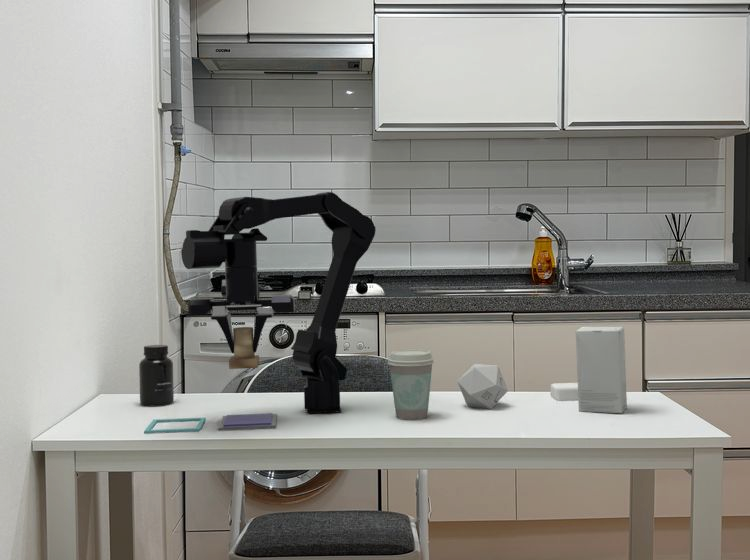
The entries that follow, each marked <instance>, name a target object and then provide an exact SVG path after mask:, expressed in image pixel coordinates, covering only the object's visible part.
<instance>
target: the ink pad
mask: <svg viewBox="0 0 750 560" xmlns="http://www.w3.org/2000/svg"><path fill="white" fill-rule="evenodd" d="M277 417H278V413H271V412H269V413H249V414H248V413H247V414H227V415H222V417H221V420H220V422H219V425H218V427H217V428H218V431H239V430H244V431H245V430H263V429H264V430H265V429H267V430H269V429H276V427H277V419H278V418H277Z"/></svg>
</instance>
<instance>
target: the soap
mask: <svg viewBox="0 0 750 560" xmlns="http://www.w3.org/2000/svg"><path fill="white" fill-rule="evenodd" d="M550 397H551V398H552V399H554V400H556V401H558V402H562V401H563V402H565V401H566V402H567V401H571V402H572V401H578V382H560V383H559V382H558V383H556V382H555V383H551V384H550Z"/></svg>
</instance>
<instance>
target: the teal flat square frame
mask: <svg viewBox="0 0 750 560" xmlns="http://www.w3.org/2000/svg"><path fill="white" fill-rule="evenodd" d="M206 419H207V418H206V417H187V418H186V417H184V418H181V417H180V418H162V419H161V418H159V419H158V418H157V419H152V421H151V422H150V423H149V425H148V426H147V427H146V428H145V429H144V431H143V433H144V434H156V433H155V432H166V433H183V432H184V433H185V432H186V433H187V432H189V433H190V432H201V430H202V429H203V426H204V424H205V422H206ZM171 421H180V422H198V423H197V425H196V427H189V428H187V427H185V428H165V429H153V428H154V427H155V426H156V425H155V424H158V423H172V422H171ZM154 425H155V426H154ZM151 429H152V430H151ZM153 432H154V433H153Z"/></svg>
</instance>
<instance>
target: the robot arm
mask: <svg viewBox="0 0 750 560" xmlns="http://www.w3.org/2000/svg"><path fill="white" fill-rule="evenodd" d="M314 214H316V215H317V214H318V216H320V218H321V220H322V221H323V223H324V225H325V226H326V227H327V228H328V229H329V230H330V231H331V232H332V236H331V248H332V254H333V255H332V259H331V262H330V264H329V269H328V271H327V273H326V277H325V279H324V280H325V281H324V284H323V287H322V290H321V293H320V297H319V299H318V303H317V306H316V309H315V311H314V316H313V319H312V321H311V324H310V325H309V326H308V327H307V328H306V329H305V330H304V329H298V330H297V333H296V336H295V341H294V343H293V345H292V346H291V347H290V349H291V350H292V360H293V362H294V364H295V366H296V368H298V370H299V372H300V375H301V378H306V385H304V386H303V395H304V396H303V401H304V405H303V406H304V409H305V410H306V413H307V414H323V413H341V412H342V407H341V386H340V384H341V383H340V382H341V381H345V379H346V375H347V372H348V368H346V366H345V365H343V363H342V362H340V360H339V359H337V352H338V341H337V340H338V339H337V334H336V330H337V326H338V323H339V320H340V318H341V315H342V311H343V309H344V304H345V301H346V299H347V295H348V292H349V288H350V285H351V282H352V280H353V276H354V272H355V269H356V267H357V263H358V262H359V261H360V259H361V258H362V257H363V256H364V254H366V253H367V251H368V250H369V248H370V246H371V245H372V243H373V240H374V238H375V236H376V232H377V231H376V230H377V229H376V228H377V227H376V226H375V224H374V221H373V220H372V219H371V217H369V216H368V215H364V214H363V213H362V212H360V210H359V209H357V208H355V207H353V206H352V205H351V204H349V203H347V201H344V200H343V199H342V198H341V197H339V195H337V194H336V193H334V192H332V191H326V192H318V193H315V194H312V195H311V194H310V195H303V196H302V195H301V196H295V197H286V198H285V197H284V198H276V199H272V198H271V199H270V198H264V197H263V198H262V197H255V196H253V197H252V196H240V197H233V198H227V199H225V200H223V201H222V203H221V205H220V206H219V209H218V215H217V216H216V218H215V220H214V222H213V223H212V225H210V228H209V229H208V230H197V229H191V230H190V229H188V230H186V231H185V236H186V237H185V238H184V240H183V243H182V248H181V250H180V253H181V261H182V264H183V265H184V267H185V269H187V270H197V269H201V270H202V269H218V268H220V267H221V266H222V265H223V263H224V266H225V269H224V270H225V273H224V274H225V275H224V276H225V279H222V280H221V287H220V288H221V289H220V290H221V291H220V292H221V293H220V294H221V297H222V299H226V300H215V299H214V297H194V298H192V299H191V300H189V302H188V306H187V307H188V308H187V309H188V316H206V315H208V314H209V313H211V316H210V320H212V321H213V320H214V321H215V320H216V322H217V323H218V325H219V327H220V329H221V331H222V332H223V335H224V337H225V339H226V342H227V344H228V347H229V350H230V353H232V354H234V338H233V327H232V319H231V317H232V314H231V313H229V312H230V311H255V310H256V312H257V313H256V315H255V317H254V319H255V320H254V328H253V337H254V342H253V349H254V353H257V350H258V347H259V342H260V339H261V335H262V332H263V329H264V326H265V324H266V322H267V319H271V318H273V316H274V312H275V313H277V314H278V313H294V312H295V310H296V309H295V307H296V305H295V303H296V302H295V297H294V296H293V295H292V294H284V295H283V294H281V295H279V294H278V295H272V296H271V298H270V299H269V298H268V299H260V298H261V297H260V284H259V283H258V282H259V280H258V258H257V257H258V255H257V253H258V252H257V242H266V241H267V240H268V236H267V235H265V234H264V233H262V232H261V230H260V229H259V228H257V227H259V226H262V225H265V224H266V223H269V222H272V221H274V220H276V219H285V218H292V217H293V218H294V217H300V216H307V215H314ZM249 229H250V230H249ZM243 230H249V232H242V231H243ZM230 235H232V237H231V238H226V236H230Z"/></svg>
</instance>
